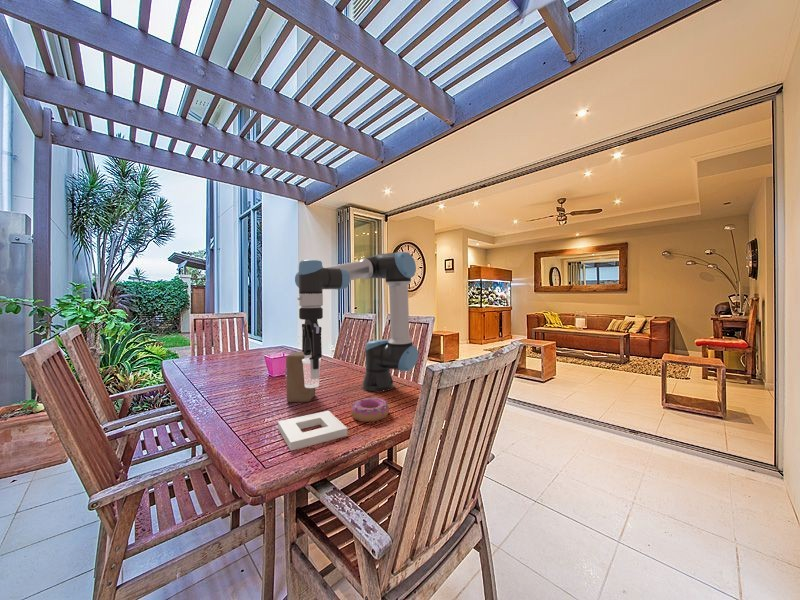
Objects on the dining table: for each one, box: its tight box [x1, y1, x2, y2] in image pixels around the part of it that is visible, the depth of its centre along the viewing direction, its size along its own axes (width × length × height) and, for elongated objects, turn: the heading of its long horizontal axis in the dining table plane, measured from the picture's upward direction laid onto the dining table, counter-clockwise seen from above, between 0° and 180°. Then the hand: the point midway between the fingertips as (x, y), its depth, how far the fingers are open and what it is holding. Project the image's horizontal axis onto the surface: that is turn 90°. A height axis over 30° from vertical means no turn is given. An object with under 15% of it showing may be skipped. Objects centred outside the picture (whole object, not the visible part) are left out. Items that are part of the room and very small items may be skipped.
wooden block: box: [285, 351, 316, 403], centre depth 138 cm, size 10×10×20 cm
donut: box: [351, 397, 390, 423], centre depth 119 cm, size 14×14×5 cm
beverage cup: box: [302, 357, 322, 389], centre depth 105 cm, size 6×6×14 cm
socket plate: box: [277, 410, 348, 451], centre depth 105 cm, size 18×18×2 cm
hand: (311, 376), depth 105 cm, fingers closed on beverage cup, 6 cm apart
